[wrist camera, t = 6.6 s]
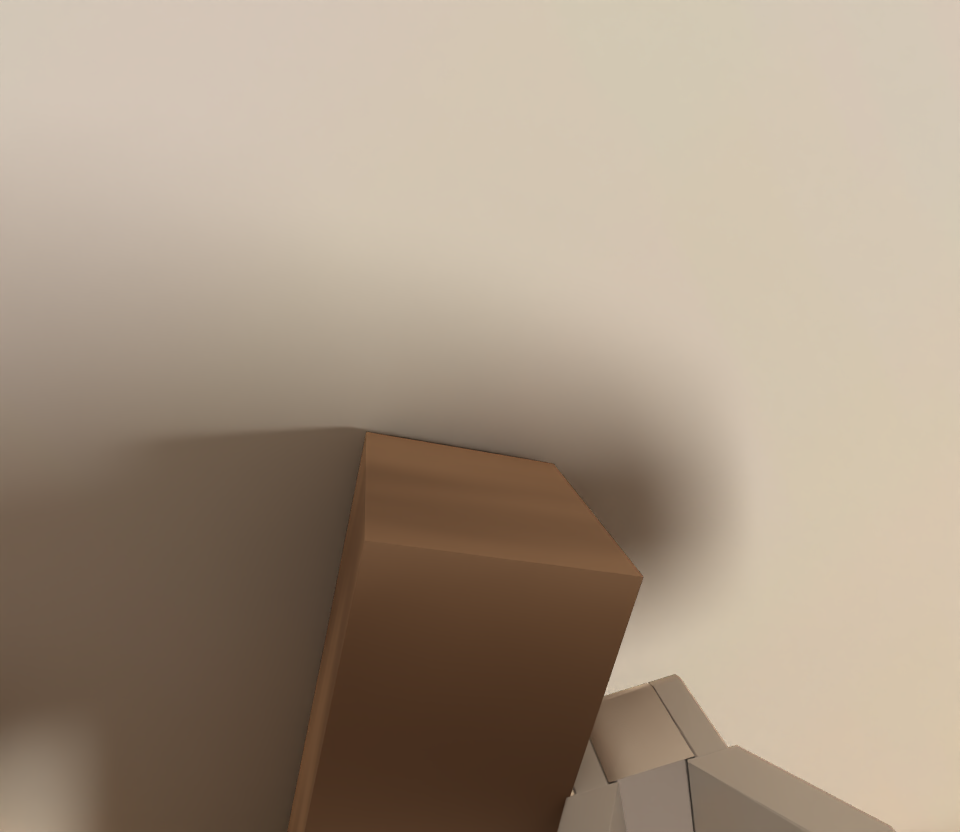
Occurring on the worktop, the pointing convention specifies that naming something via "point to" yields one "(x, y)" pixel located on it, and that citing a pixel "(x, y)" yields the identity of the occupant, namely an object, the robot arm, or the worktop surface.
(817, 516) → the worktop surface
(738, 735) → the worktop surface
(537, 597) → the brown wooden block
